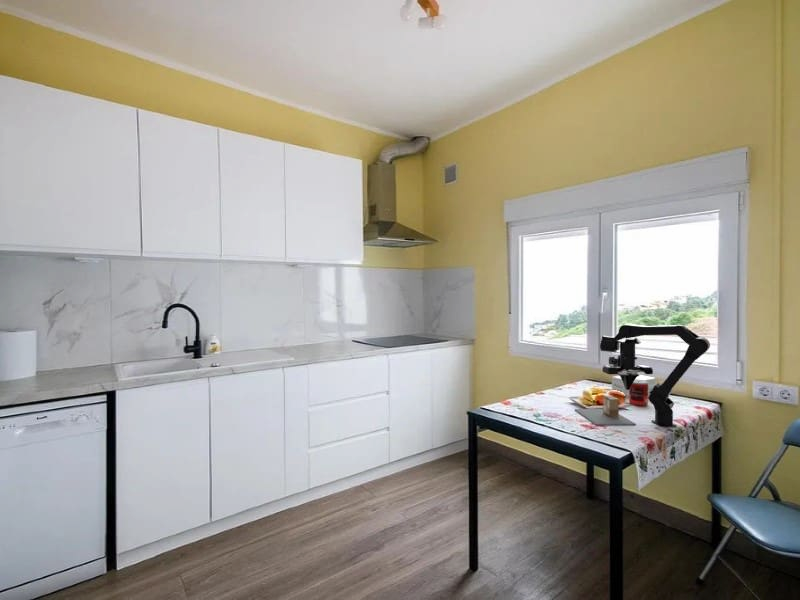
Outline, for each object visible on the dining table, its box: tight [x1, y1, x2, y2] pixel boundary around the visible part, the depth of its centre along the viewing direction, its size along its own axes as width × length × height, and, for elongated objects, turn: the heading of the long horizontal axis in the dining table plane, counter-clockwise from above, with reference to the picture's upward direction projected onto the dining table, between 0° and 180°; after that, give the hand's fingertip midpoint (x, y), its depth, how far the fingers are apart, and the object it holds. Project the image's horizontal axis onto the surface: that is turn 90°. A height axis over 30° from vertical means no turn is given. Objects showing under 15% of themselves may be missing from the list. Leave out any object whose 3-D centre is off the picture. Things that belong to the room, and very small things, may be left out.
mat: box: [574, 408, 637, 426], centre depth 174 cm, size 20×16×1 cm
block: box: [602, 394, 620, 418], centre depth 174 cm, size 6×4×8 cm, turn 0°
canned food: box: [628, 379, 649, 407], centre depth 193 cm, size 8×8×11 cm
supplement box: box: [611, 374, 657, 399], centre depth 210 cm, size 17×13×9 cm
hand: (627, 389), depth 174 cm, fingers closed
